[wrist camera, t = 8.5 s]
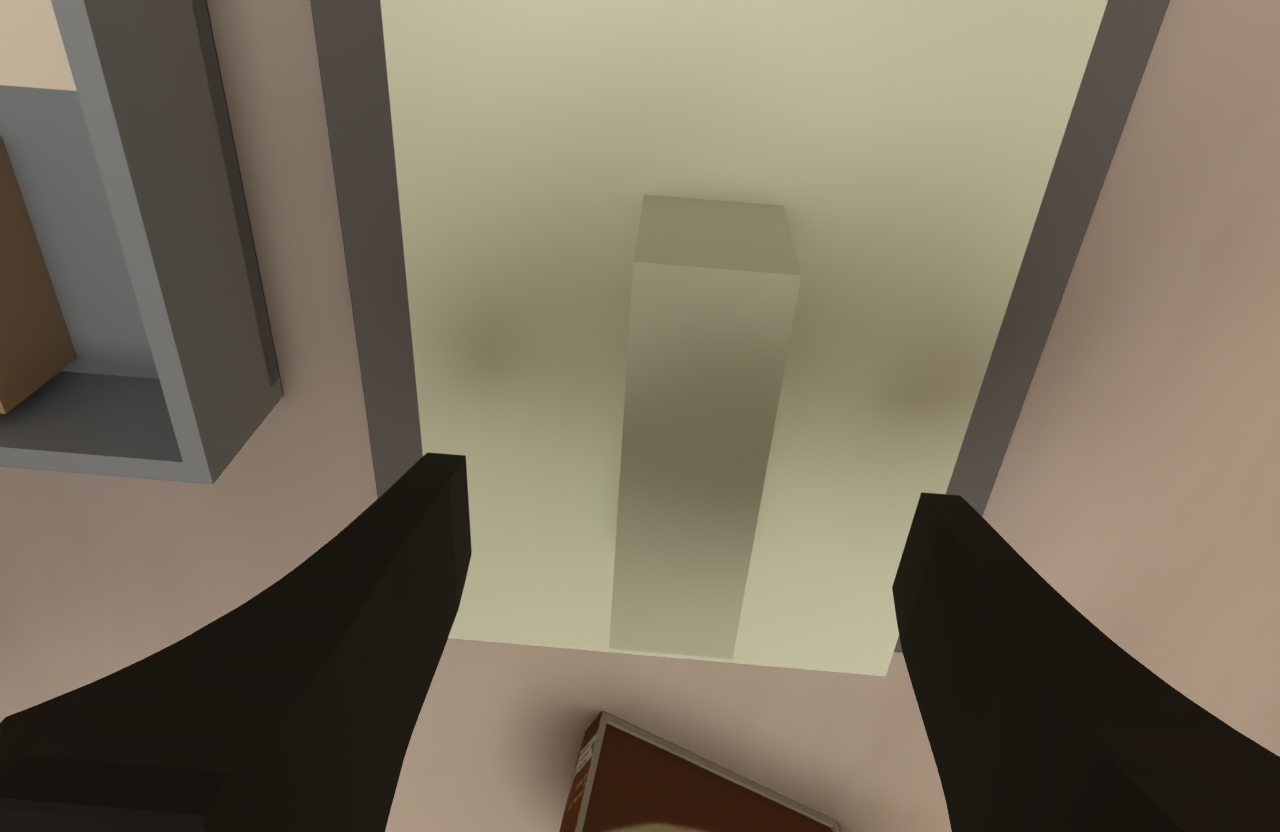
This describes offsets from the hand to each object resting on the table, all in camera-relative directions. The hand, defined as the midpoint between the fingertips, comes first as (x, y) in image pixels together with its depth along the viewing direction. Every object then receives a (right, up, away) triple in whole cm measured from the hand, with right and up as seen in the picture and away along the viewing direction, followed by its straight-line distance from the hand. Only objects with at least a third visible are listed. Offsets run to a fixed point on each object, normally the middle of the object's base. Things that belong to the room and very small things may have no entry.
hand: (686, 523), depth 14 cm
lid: (0, +3, +5) cm, 6 cm away
